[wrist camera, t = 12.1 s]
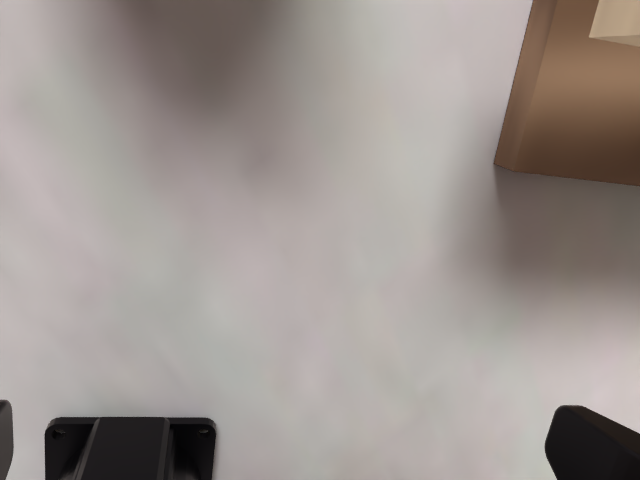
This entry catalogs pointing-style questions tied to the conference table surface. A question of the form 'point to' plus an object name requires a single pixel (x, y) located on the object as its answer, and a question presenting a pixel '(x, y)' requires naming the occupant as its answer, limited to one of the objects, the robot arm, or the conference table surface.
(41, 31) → the conference table surface
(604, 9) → the beech stick
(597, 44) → the balance stand
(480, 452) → the conference table surface
